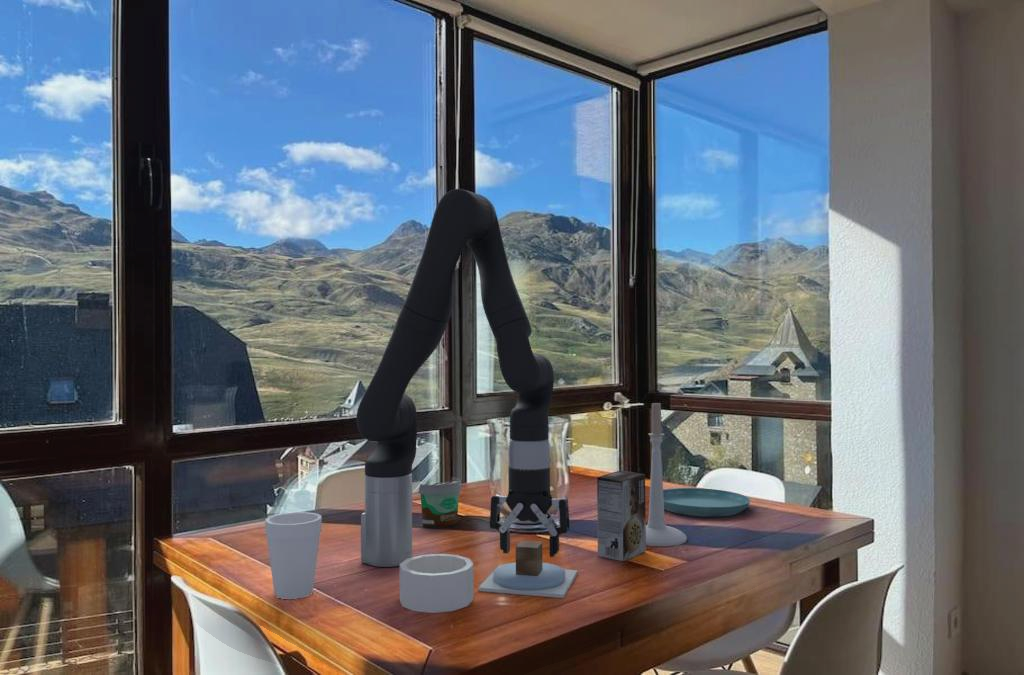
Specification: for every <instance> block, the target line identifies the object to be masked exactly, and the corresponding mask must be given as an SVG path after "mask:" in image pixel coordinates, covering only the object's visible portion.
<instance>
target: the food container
mask: <svg viewBox="0 0 1024 675" xmlns="http://www.w3.org/2000/svg"><path fill="white" fill-rule="evenodd" d="M462 490H463V485H462V482H461V479H459V478H457V477H453V476H452V477H451V480H449V481H446V482H435V483H433V484H421V483H420V484H419V487H418V494H420V503H421V504H420V505H421V517H422V518H421V519H422V527H423V528H447V527H452V526H455V525H456V524H457V523H458V512H459V511H458V510H459V500H460V492H461V491H462Z"/></svg>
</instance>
